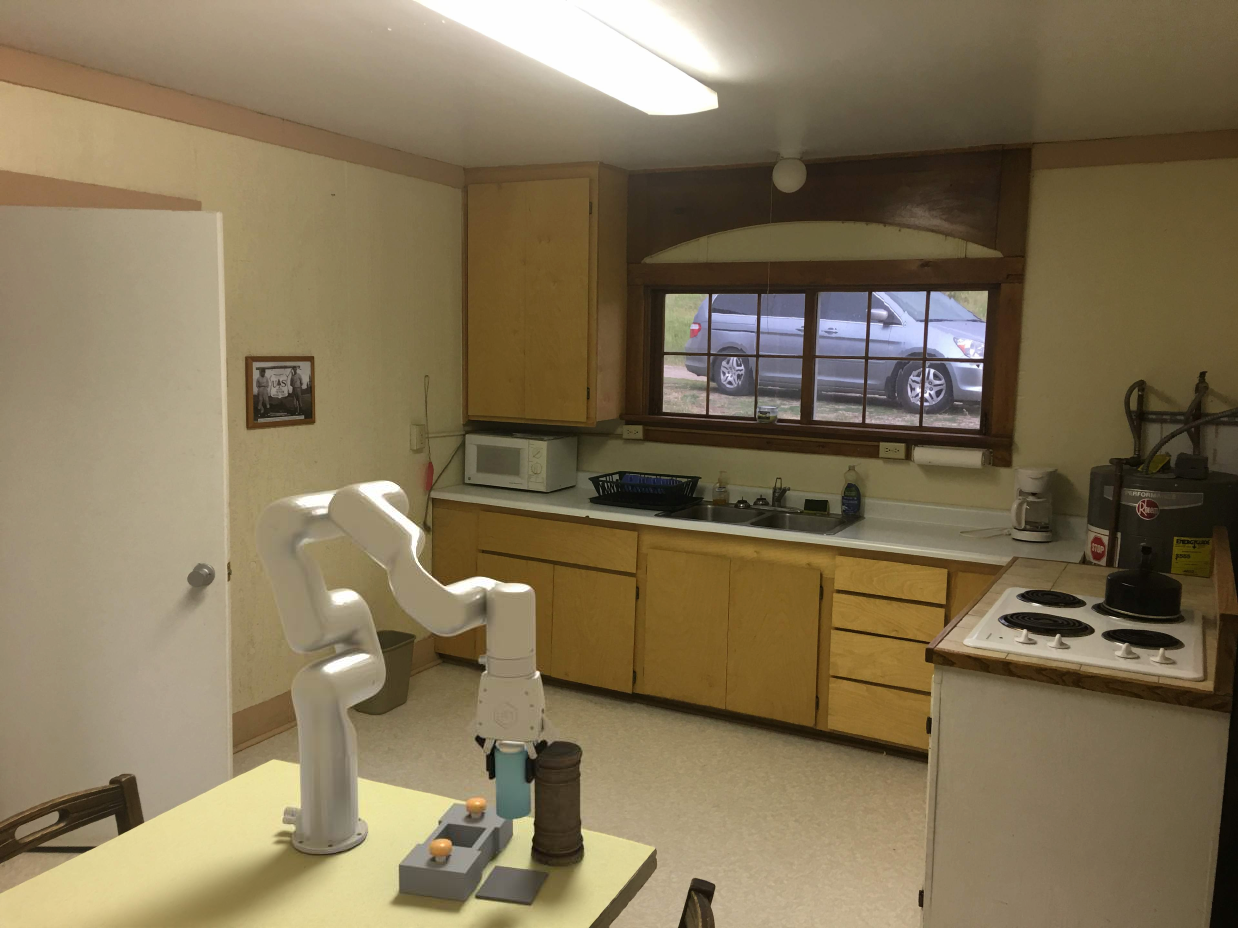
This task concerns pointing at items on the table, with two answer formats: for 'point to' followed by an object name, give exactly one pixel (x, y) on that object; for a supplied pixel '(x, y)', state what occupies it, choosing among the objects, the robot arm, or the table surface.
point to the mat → (512, 885)
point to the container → (558, 805)
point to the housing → (455, 854)
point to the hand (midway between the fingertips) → (512, 776)
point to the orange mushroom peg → (476, 807)
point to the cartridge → (512, 780)
